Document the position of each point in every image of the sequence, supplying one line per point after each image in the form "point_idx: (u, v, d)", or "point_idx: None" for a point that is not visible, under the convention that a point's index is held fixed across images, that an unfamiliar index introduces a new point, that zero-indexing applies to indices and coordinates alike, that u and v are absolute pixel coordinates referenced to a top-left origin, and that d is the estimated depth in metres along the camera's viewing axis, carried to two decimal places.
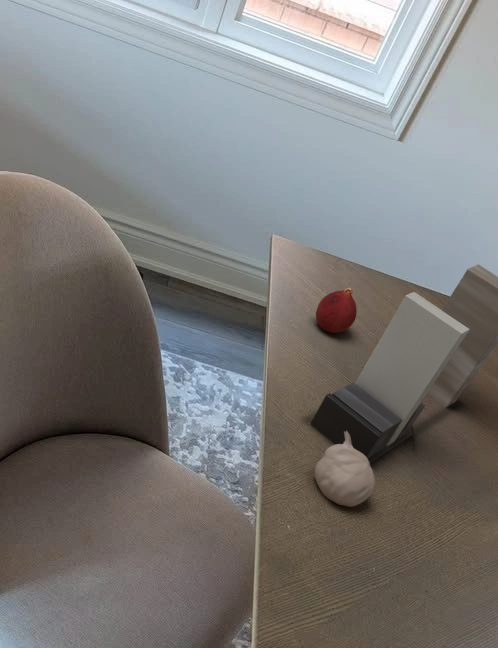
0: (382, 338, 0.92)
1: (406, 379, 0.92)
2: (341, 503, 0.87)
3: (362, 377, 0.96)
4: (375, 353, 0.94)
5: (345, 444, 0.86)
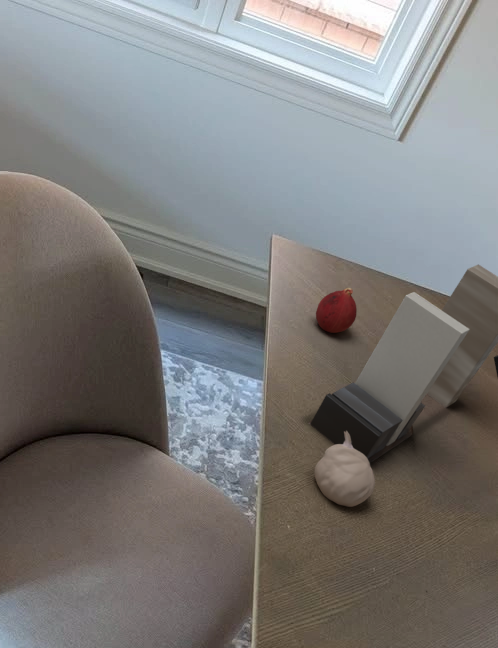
0: (382, 338, 0.92)
1: (406, 379, 0.92)
2: (341, 503, 0.87)
3: (362, 377, 0.96)
4: (375, 353, 0.94)
5: (345, 444, 0.86)
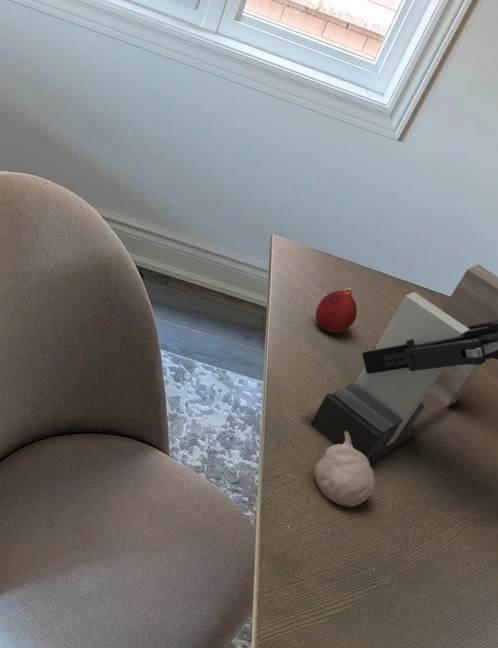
0: (382, 338, 0.92)
1: (406, 379, 0.92)
2: (341, 503, 0.87)
3: (362, 377, 0.96)
4: None
5: (345, 444, 0.86)
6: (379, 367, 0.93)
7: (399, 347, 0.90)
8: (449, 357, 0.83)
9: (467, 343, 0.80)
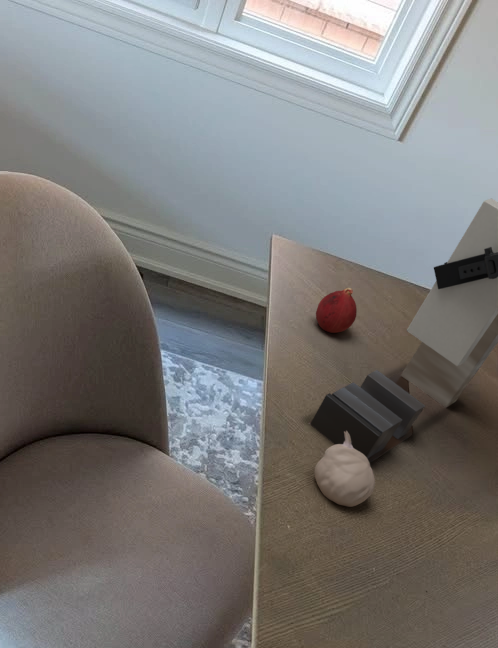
0: (456, 250, 0.89)
1: (481, 292, 0.89)
2: (341, 503, 0.87)
3: (432, 294, 0.93)
4: None
5: (345, 444, 0.86)
6: (452, 281, 0.90)
7: (475, 257, 0.87)
8: None
9: None
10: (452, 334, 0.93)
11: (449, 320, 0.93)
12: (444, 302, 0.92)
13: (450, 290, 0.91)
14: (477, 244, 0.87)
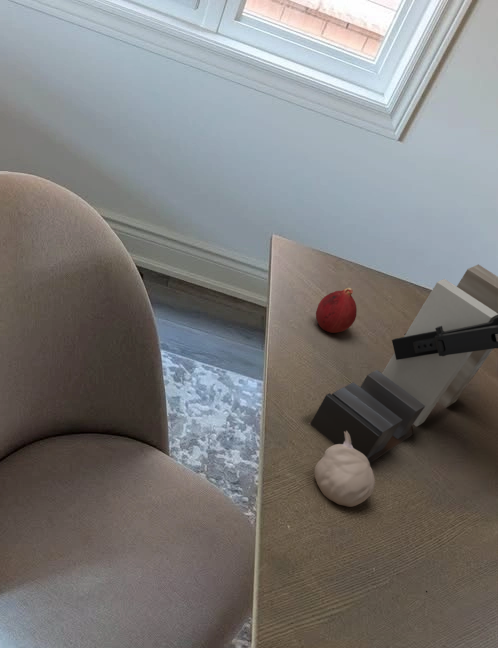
0: (413, 323, 0.97)
1: (436, 362, 0.97)
2: (341, 503, 0.87)
3: (393, 361, 1.01)
4: None
5: (345, 444, 0.86)
6: (408, 353, 0.98)
7: (428, 334, 0.95)
8: (479, 342, 0.87)
9: (497, 328, 0.85)
10: None
11: (408, 385, 1.01)
12: (404, 369, 1.00)
13: (409, 359, 0.99)
14: (432, 320, 0.95)
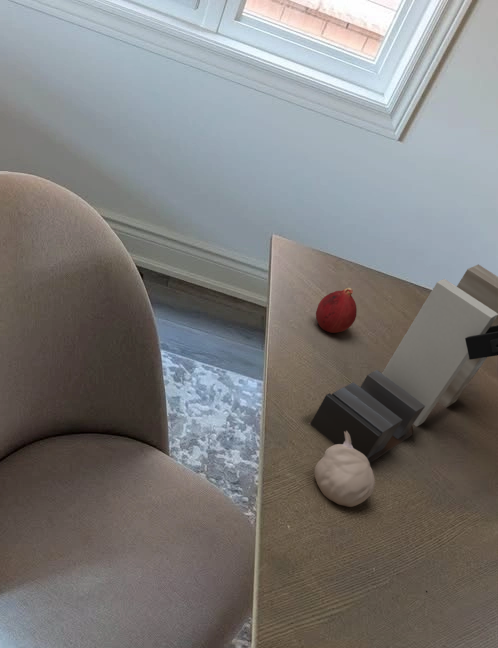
0: (413, 323, 0.97)
1: (436, 362, 0.97)
2: (341, 503, 0.87)
3: (393, 361, 1.01)
4: (406, 338, 0.99)
5: (345, 444, 0.86)
6: (484, 352, 0.90)
7: None
8: None
9: None
10: None
11: (408, 385, 1.01)
12: (404, 369, 1.00)
13: (409, 359, 0.99)
14: (432, 320, 0.95)
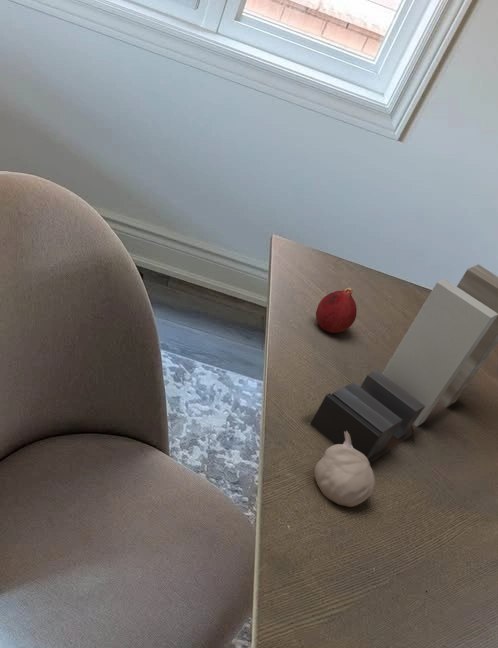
0: (413, 323, 0.97)
1: (436, 362, 0.97)
2: (341, 503, 0.87)
3: (393, 361, 1.01)
4: (406, 338, 0.99)
5: (345, 444, 0.86)
6: None
7: None
8: None
9: None
10: None
11: (408, 385, 1.01)
12: (404, 369, 1.00)
13: (409, 359, 0.99)
14: (432, 320, 0.95)
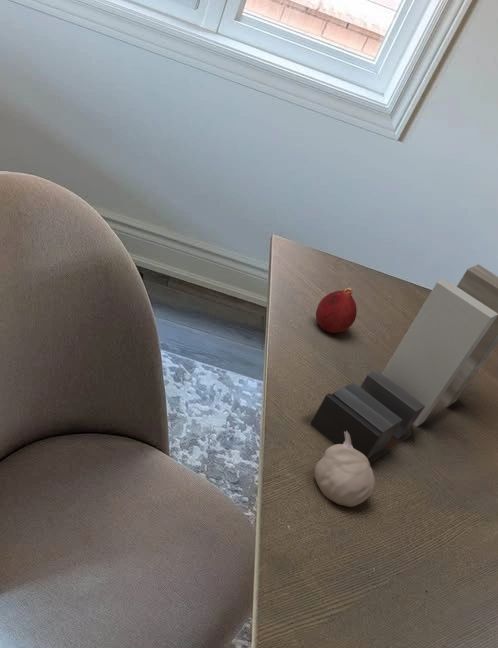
0: (413, 323, 0.97)
1: (436, 362, 0.97)
2: (341, 503, 0.87)
3: (393, 361, 1.01)
4: (406, 338, 0.99)
5: (345, 444, 0.86)
6: None
7: None
8: None
9: None
10: None
11: (408, 385, 1.01)
12: (404, 369, 1.00)
13: (409, 359, 0.99)
14: (432, 320, 0.95)
